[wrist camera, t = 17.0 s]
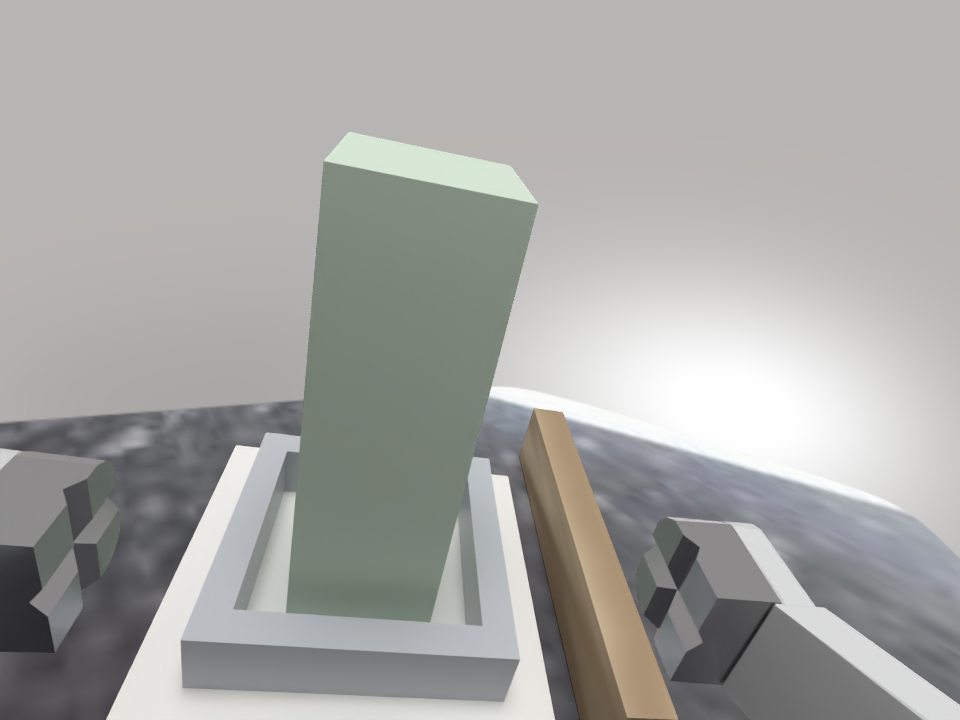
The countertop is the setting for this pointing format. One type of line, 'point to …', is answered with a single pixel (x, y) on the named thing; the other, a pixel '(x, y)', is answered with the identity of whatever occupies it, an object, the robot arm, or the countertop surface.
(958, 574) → the countertop surface
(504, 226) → the sage bar
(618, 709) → the oak board
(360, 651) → the grey keeper socket
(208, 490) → the countertop surface
